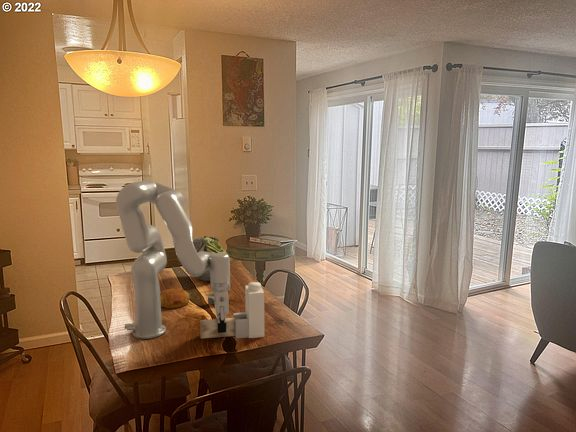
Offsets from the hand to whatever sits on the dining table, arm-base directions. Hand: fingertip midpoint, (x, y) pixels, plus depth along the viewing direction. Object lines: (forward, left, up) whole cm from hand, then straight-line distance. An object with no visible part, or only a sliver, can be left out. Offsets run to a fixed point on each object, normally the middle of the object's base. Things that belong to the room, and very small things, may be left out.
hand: (221, 329), depth 164 cm
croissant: (-19, +40, -3) cm, 44 cm away
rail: (+1, 0, -2) cm, 2 cm away
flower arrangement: (-2, +75, -3) cm, 75 cm away
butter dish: (0, +34, -3) cm, 35 cm away
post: (+11, 0, -2) cm, 11 cm away
